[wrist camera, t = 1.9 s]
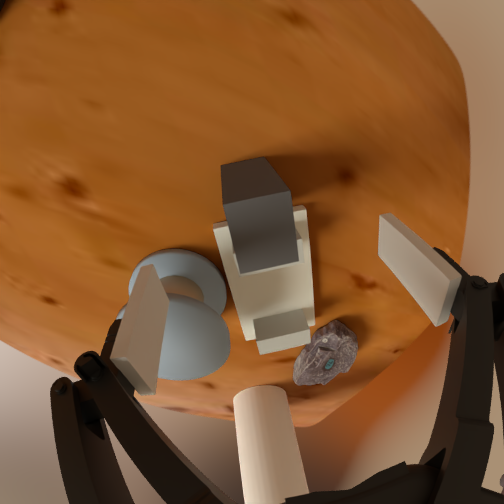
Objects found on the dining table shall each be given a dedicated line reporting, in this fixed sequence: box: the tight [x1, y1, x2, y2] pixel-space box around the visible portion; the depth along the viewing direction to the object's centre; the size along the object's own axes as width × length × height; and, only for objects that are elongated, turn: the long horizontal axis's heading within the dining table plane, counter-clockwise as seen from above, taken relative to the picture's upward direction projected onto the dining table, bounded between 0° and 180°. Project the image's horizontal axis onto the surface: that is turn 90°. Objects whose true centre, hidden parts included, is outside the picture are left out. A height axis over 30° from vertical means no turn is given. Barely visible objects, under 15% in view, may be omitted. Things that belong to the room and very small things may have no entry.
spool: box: [116, 249, 230, 380], centre depth 28 cm, size 11×11×8 cm
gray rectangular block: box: [221, 157, 299, 274], centre depth 22 cm, size 5×4×10 cm
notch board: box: [213, 205, 315, 355], centre depth 30 cm, size 16×9×5 cm, turn 10°
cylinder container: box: [233, 385, 309, 504], centre depth 32 cm, size 9×9×30 cm
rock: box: [293, 320, 358, 385], centre depth 38 cm, size 8×11×5 cm
